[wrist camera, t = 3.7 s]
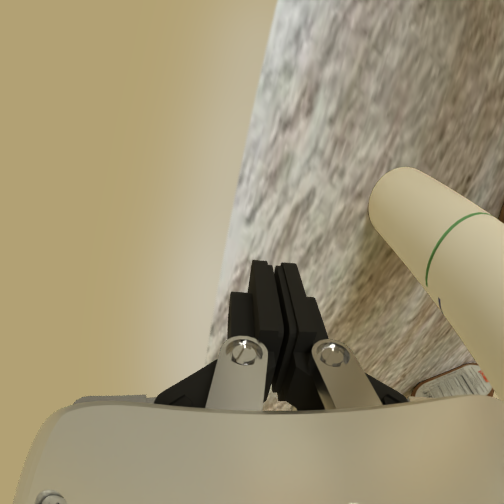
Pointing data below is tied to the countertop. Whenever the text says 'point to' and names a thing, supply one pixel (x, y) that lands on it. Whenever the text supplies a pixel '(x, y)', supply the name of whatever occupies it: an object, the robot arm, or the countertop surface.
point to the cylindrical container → (449, 258)
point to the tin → (455, 383)
